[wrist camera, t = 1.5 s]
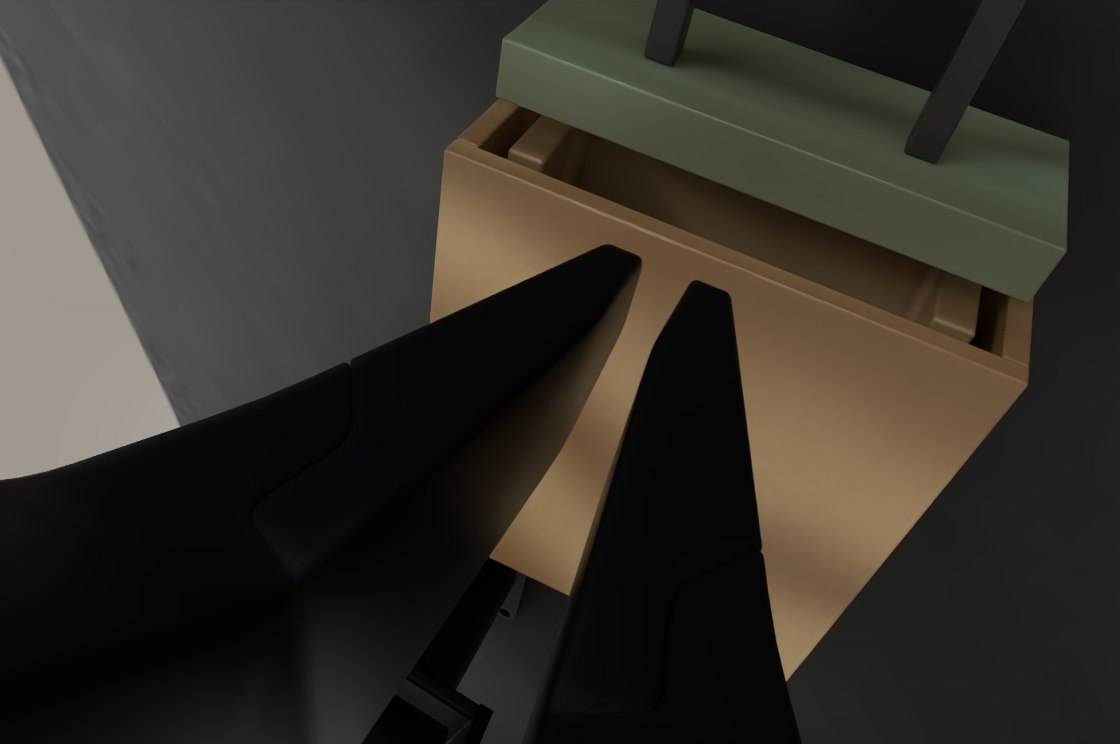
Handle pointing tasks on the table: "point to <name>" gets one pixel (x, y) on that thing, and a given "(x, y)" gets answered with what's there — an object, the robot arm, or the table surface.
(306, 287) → the table surface
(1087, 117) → the table surface
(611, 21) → the drawer
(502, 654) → the table surface
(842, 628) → the table surface
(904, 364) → the cabinet
